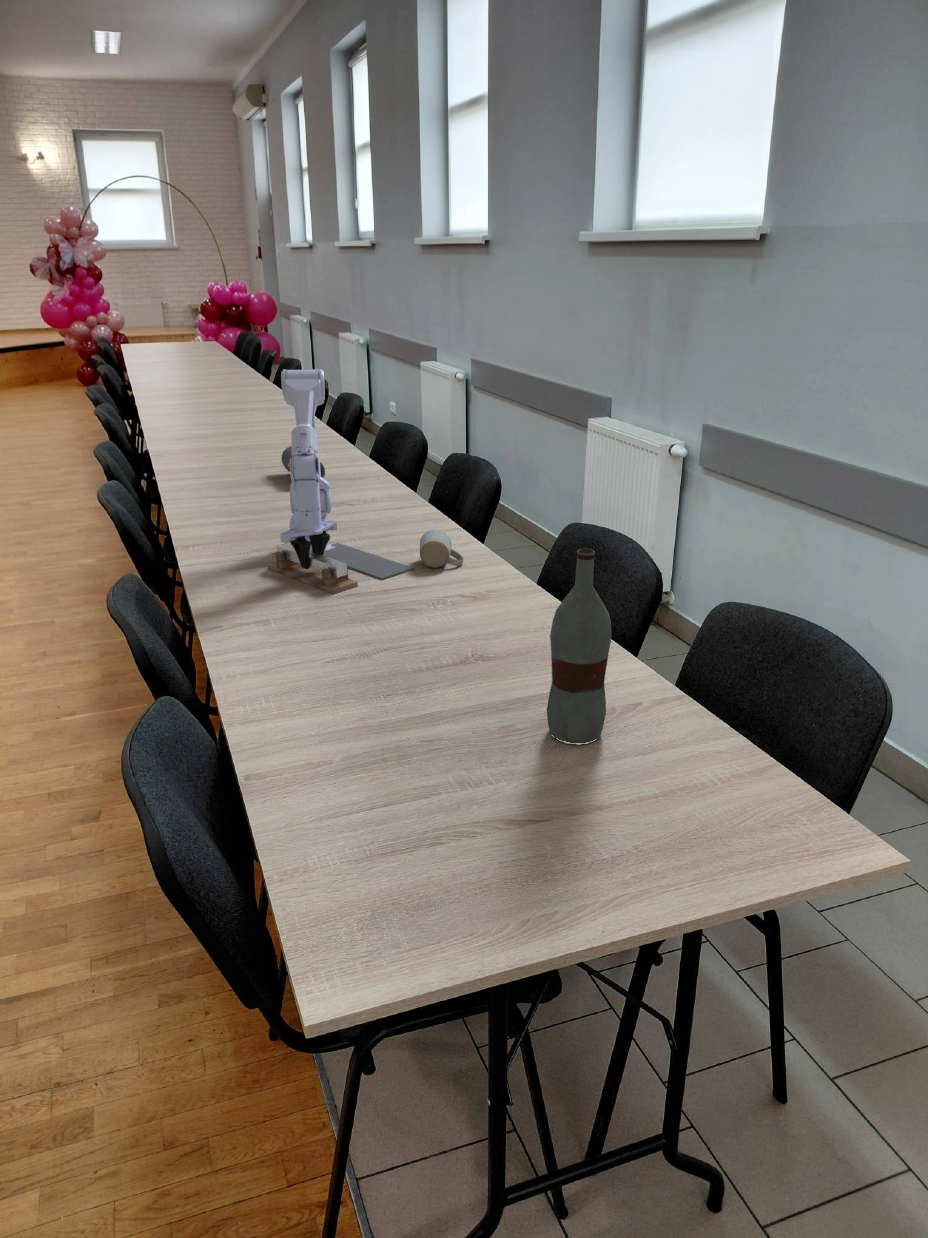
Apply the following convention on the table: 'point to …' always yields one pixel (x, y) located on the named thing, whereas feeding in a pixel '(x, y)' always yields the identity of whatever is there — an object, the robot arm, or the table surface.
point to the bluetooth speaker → (288, 454)
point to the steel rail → (315, 560)
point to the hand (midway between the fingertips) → (311, 566)
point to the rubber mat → (366, 562)
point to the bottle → (579, 659)
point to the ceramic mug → (438, 550)
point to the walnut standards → (312, 575)
